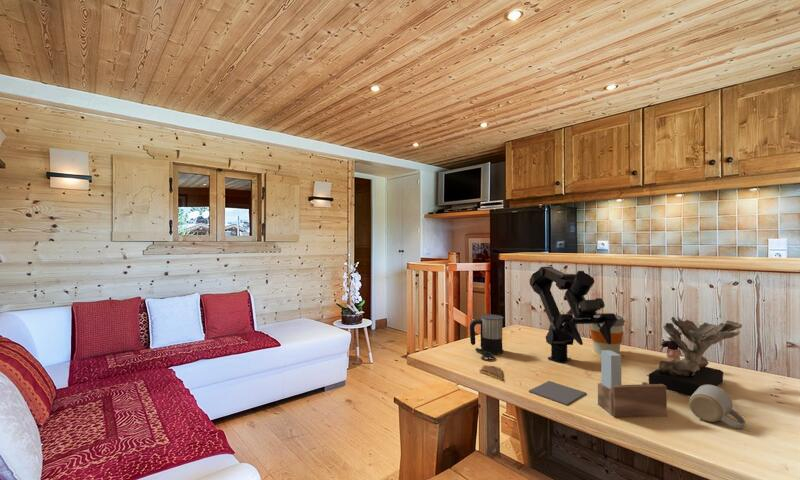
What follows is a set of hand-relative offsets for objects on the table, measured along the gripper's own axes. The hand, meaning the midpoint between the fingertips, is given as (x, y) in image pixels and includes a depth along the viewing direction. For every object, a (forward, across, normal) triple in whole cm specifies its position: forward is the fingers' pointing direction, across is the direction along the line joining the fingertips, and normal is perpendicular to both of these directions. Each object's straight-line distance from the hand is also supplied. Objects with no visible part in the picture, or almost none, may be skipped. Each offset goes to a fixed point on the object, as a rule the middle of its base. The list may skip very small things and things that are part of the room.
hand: (596, 344), depth 116 cm
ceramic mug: (+26, +19, -6) cm, 32 cm away
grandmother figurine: (-2, +38, +21) cm, 44 cm away
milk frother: (-14, -25, +34) cm, 44 cm away
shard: (+1, -29, +19) cm, 34 cm away
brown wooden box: (+21, 0, -2) cm, 21 cm away
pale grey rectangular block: (+15, 0, +4) cm, 16 cm away
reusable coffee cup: (-14, +23, +33) cm, 43 cm away
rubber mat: (+13, -15, +6) cm, 21 cm away
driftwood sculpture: (+10, +33, +9) cm, 35 cm away
